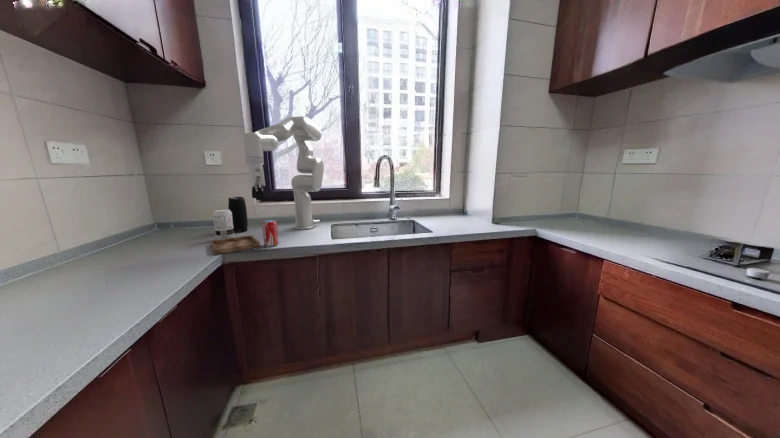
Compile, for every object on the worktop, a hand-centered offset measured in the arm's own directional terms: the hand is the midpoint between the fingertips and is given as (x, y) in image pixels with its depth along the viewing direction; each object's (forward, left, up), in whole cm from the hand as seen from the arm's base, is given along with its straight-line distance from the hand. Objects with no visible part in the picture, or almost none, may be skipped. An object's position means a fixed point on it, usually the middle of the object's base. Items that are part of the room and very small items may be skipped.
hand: (258, 198), depth 126 cm
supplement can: (+13, -21, -22) cm, 33 cm away
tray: (+11, -4, -22) cm, 25 cm away
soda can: (-3, +4, -22) cm, 23 cm away
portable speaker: (+4, -36, -22) cm, 42 cm away
